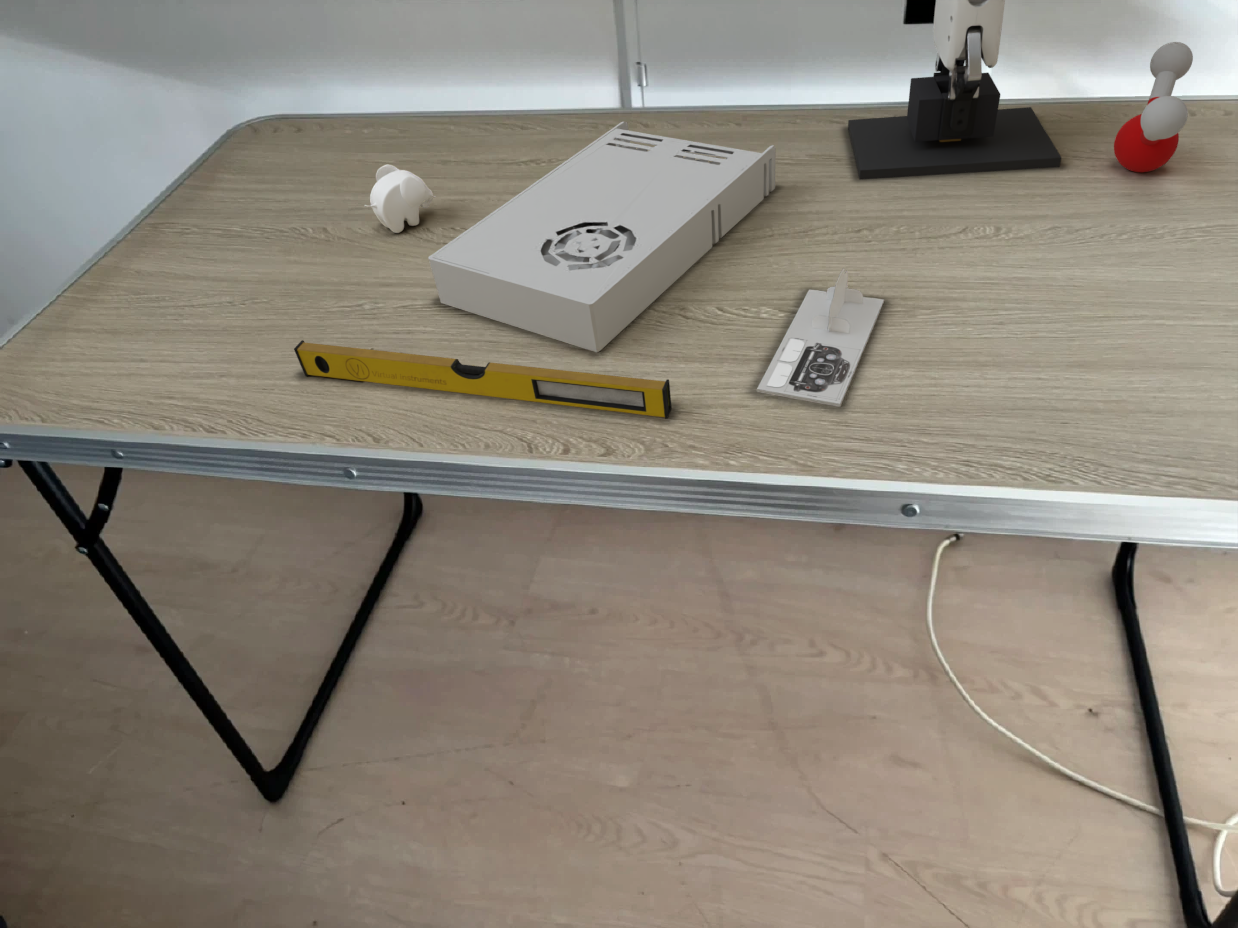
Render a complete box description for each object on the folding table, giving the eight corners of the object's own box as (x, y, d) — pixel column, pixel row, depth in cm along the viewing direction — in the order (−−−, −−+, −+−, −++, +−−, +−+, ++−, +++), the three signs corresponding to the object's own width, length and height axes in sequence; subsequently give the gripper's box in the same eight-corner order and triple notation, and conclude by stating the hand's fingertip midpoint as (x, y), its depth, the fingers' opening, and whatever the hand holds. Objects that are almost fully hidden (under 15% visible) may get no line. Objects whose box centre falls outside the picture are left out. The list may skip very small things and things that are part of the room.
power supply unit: (776, 189, 98) (776, 143, 95) (599, 354, 79) (591, 305, 76) (629, 161, 107) (624, 119, 104) (439, 304, 88) (426, 258, 85)
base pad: (1029, 117, 104) (1036, 79, 102) (1059, 168, 95) (1068, 128, 92) (847, 129, 107) (849, 93, 104) (859, 180, 98) (862, 142, 95)
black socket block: (982, 113, 101) (988, 72, 98) (993, 136, 97) (1000, 93, 94) (906, 119, 102) (910, 77, 99) (914, 142, 98) (919, 99, 95)
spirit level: (305, 376, 82) (293, 348, 80) (313, 367, 83) (301, 339, 81) (667, 420, 72) (664, 389, 70) (672, 409, 73) (669, 379, 71)
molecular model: (1163, 213, 86) (1197, 107, 80) (1098, 206, 88) (1125, 102, 82) (1174, 135, 97) (1204, 36, 91) (1116, 130, 100) (1141, 33, 93)
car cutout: (808, 293, 83) (810, 248, 80) (883, 303, 80) (888, 258, 77) (756, 393, 73) (756, 346, 70) (840, 408, 71) (843, 361, 68)
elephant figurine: (452, 219, 101) (440, 167, 97) (388, 247, 98) (372, 195, 94) (422, 200, 105) (409, 150, 101) (360, 227, 102) (344, 176, 98)
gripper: (1040, -45, 80) (1004, 154, 92) (998, -92, 93) (971, 88, 105) (950, -37, 81) (926, 159, 93) (920, -85, 94) (903, 93, 106)
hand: (950, 120), depth 99 cm, fingers closed on black socket block, 6 cm apart
